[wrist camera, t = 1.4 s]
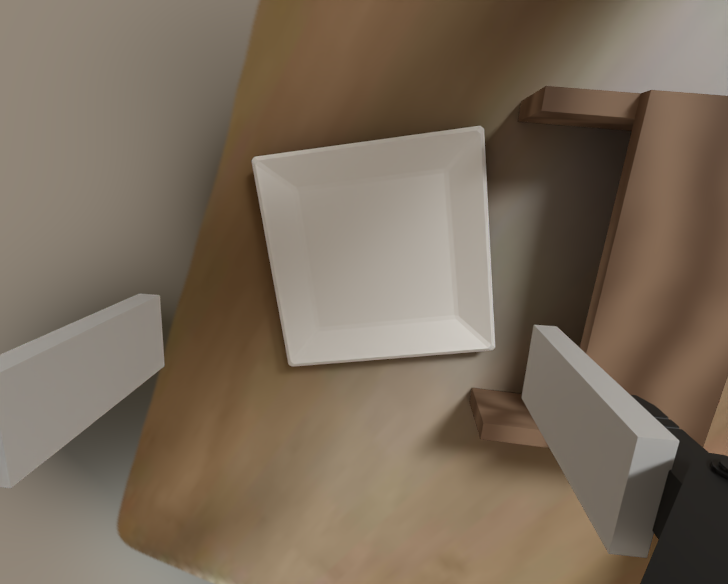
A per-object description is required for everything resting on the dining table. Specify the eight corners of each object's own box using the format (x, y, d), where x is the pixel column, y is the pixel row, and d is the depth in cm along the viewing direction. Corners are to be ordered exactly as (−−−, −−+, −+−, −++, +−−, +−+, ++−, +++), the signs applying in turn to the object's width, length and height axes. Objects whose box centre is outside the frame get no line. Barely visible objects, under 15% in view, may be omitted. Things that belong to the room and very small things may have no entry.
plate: (293, 358, 42) (288, 368, 40) (257, 158, 37) (249, 157, 35) (491, 342, 40) (495, 351, 38) (479, 127, 35) (484, 124, 33)
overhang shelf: (469, 402, 41) (483, 448, 34) (521, 101, 34) (552, 82, 27) (643, 423, 40) (693, 475, 33) (733, 118, 33) (821, 103, 26)
